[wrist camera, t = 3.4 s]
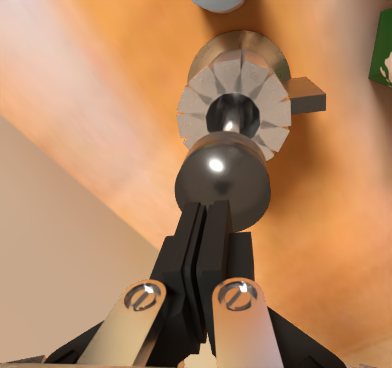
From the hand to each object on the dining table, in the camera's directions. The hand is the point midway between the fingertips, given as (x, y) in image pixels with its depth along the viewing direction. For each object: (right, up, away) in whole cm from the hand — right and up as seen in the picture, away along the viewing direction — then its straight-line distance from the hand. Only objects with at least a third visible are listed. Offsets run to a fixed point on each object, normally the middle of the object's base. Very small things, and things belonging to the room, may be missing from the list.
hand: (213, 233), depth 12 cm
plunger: (+3, +10, +19) cm, 21 cm away
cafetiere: (+5, +15, +28) cm, 32 cm away
